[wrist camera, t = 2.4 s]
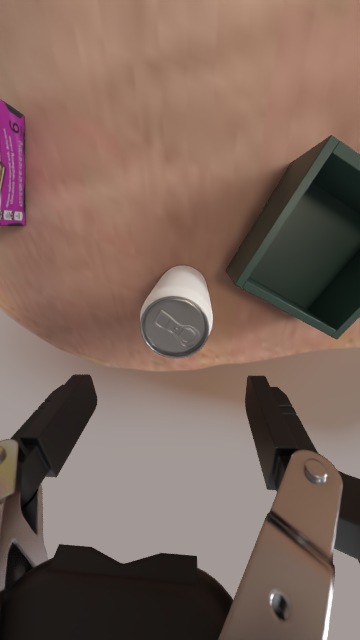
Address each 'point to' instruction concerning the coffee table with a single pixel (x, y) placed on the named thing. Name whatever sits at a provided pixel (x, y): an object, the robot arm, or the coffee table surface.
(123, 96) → the coffee table surface
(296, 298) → the bin
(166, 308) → the can
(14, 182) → the candy bar box
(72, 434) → the robot arm
